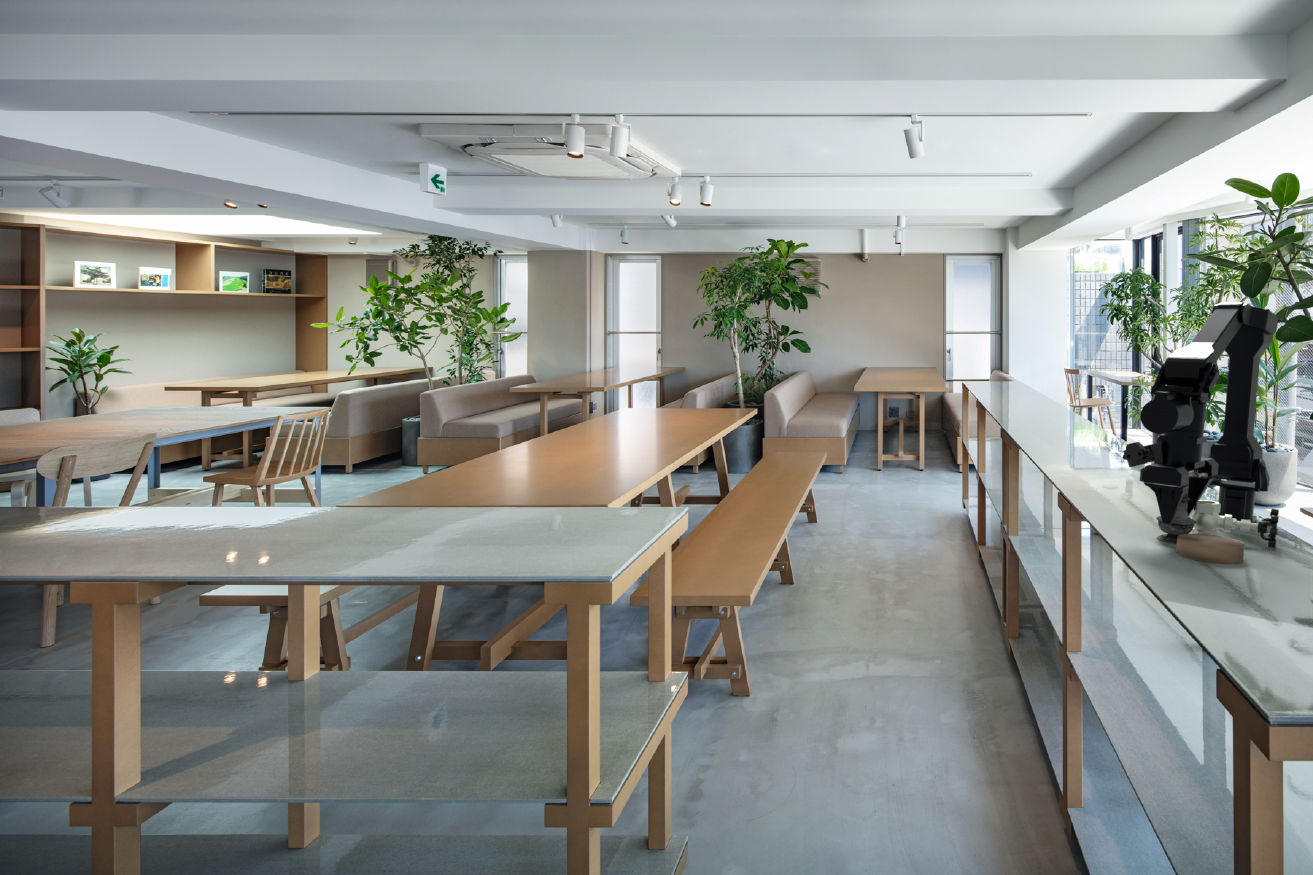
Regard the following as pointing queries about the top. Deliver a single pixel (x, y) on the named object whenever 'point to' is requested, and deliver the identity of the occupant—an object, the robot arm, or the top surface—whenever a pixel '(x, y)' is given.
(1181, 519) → the salt shaker
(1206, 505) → the valve
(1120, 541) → the top surface
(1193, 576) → the top surface
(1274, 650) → the top surface
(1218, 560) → the tan round disc
